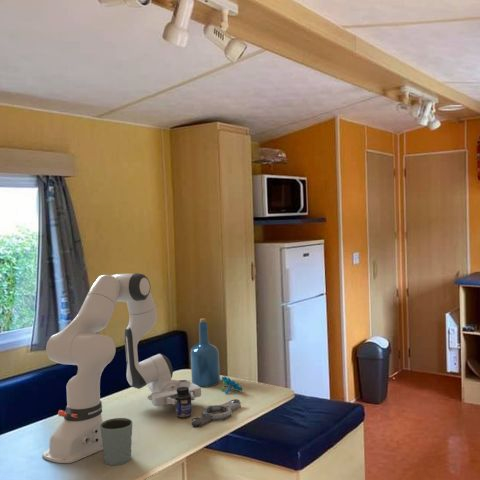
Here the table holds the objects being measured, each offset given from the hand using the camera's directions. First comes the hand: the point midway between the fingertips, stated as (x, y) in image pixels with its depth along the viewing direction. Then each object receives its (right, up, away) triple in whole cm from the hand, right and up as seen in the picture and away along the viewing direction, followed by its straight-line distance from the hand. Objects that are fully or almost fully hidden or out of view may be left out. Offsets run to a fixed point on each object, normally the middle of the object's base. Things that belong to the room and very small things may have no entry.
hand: (184, 400), depth 217 cm
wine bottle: (+6, -4, +42) cm, 43 cm away
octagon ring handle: (+13, -6, 0) cm, 14 cm away
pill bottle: (0, -7, +1) cm, 7 cm away
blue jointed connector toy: (+18, -5, +28) cm, 34 cm away
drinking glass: (-18, -9, -35) cm, 40 cm away
